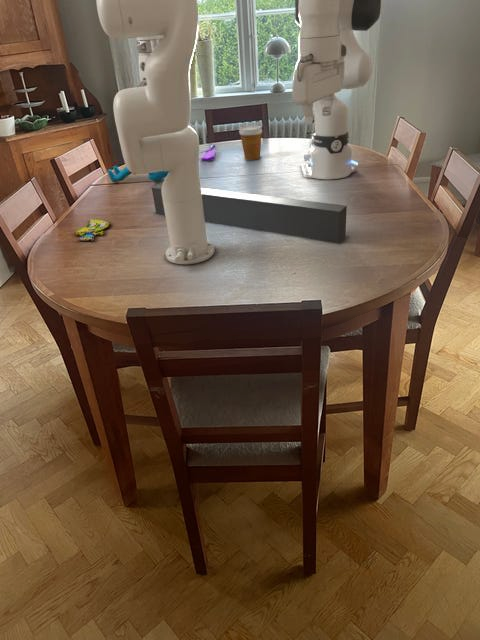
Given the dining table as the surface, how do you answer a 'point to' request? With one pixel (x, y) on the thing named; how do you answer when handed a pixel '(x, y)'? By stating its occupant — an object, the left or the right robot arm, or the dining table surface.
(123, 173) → the toy
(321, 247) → the dining table surface
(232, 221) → the beam
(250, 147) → the beer cup
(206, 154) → the musical instrument
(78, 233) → the toy
